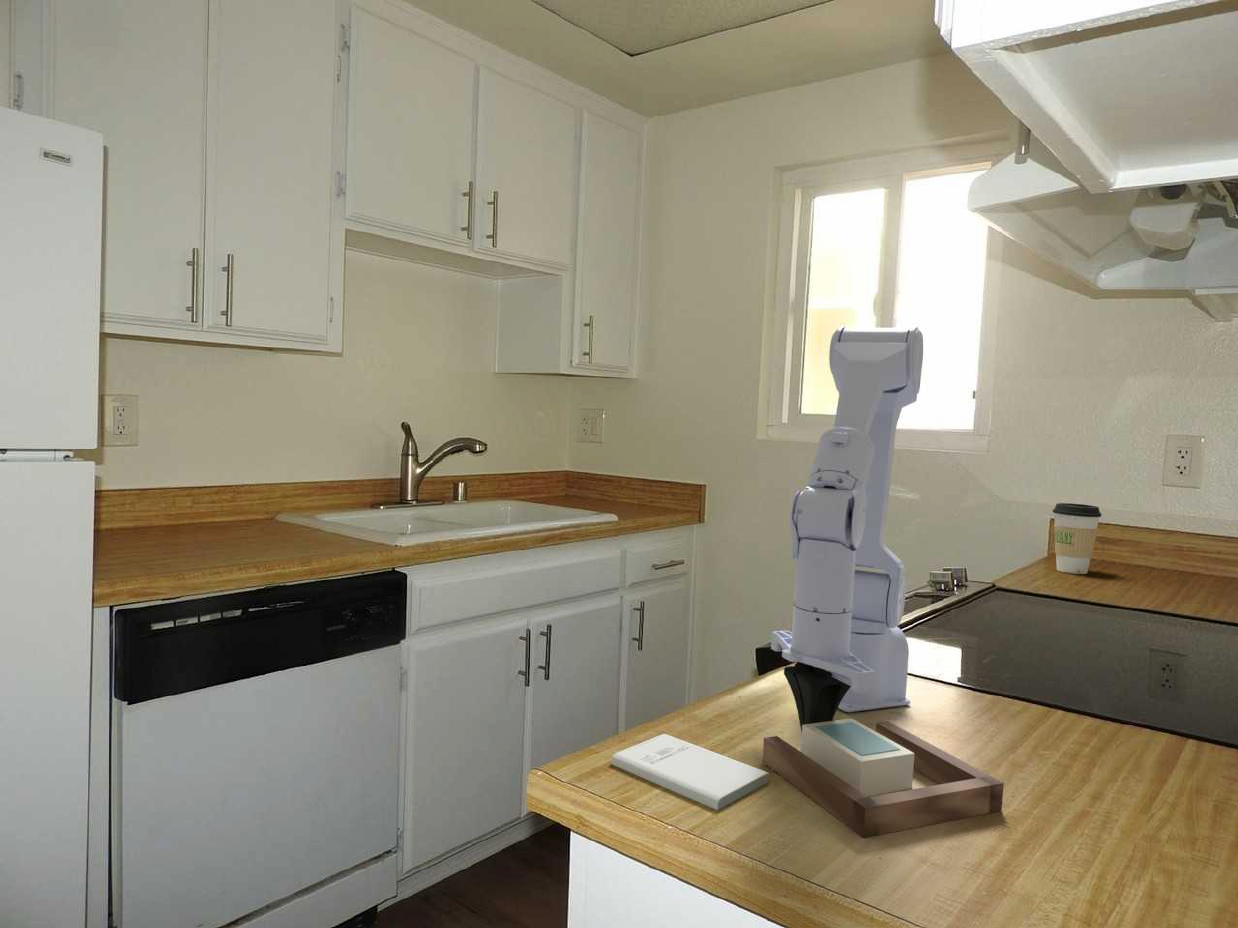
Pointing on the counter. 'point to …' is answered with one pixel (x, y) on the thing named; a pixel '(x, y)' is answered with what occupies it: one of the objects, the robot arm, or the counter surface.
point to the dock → (870, 816)
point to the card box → (859, 756)
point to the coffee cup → (1075, 536)
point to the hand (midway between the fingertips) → (814, 738)
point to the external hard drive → (691, 770)
